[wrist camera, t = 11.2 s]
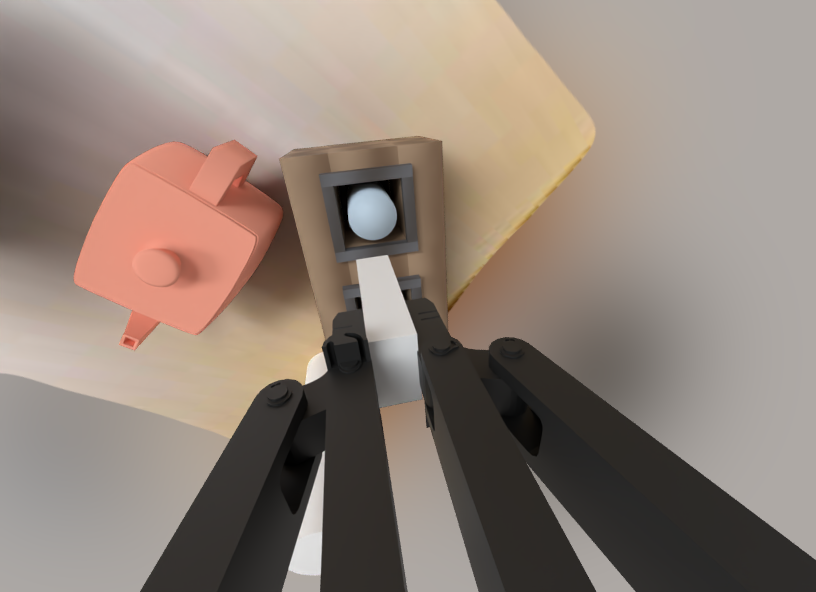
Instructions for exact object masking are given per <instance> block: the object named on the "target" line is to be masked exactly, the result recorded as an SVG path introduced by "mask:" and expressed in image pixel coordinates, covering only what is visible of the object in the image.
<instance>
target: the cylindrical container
mask: <svg viewBox="0 0 816 592" xmlns="http://www.w3.org/2000/svg"><path fill="white" fill-rule="evenodd" d="M327 371H328V369H327V366H326V362H325V358H324V354H323V352H321V353H318V354H317V355H315V356H314V357H313V358H312V359H311V360H310V362H309V364H308V367H307V374H306V382H305V385H306V384H308V383H310V382H313V381H315V380H317V379H319V378H320V377H321V376H323V375H324V374H325V373H326V372H327ZM324 462H325V451H323V452H322V459H321V462H320V465H319V469H318V472H317V475H316V479H315V482H314V485H313V489H312V492H311V495H310V499H309V502H308V505H307V509H306V512H305V515H304V519H303V522H302V525H301V529H300V532H299V535H298V538H297V542H296V545H295V548H294V552H293V555H292V558H291V562H290V565H289V568H288V570H290V571H292V572H295V573H298V574H303V575H321V554H322V523H323V493H324Z"/></svg>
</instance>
